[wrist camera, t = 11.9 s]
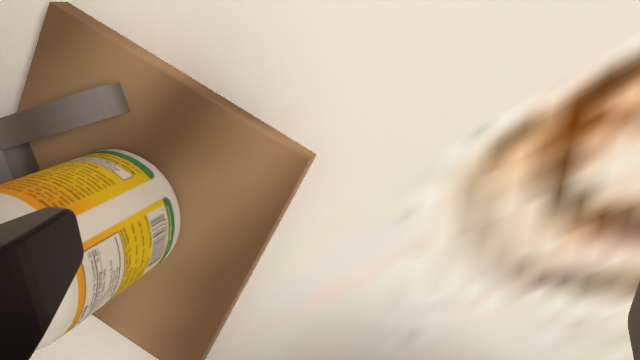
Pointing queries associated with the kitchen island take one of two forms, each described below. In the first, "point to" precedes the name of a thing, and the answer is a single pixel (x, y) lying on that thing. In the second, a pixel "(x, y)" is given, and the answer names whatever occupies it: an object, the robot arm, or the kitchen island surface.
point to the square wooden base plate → (170, 159)
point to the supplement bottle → (101, 224)
